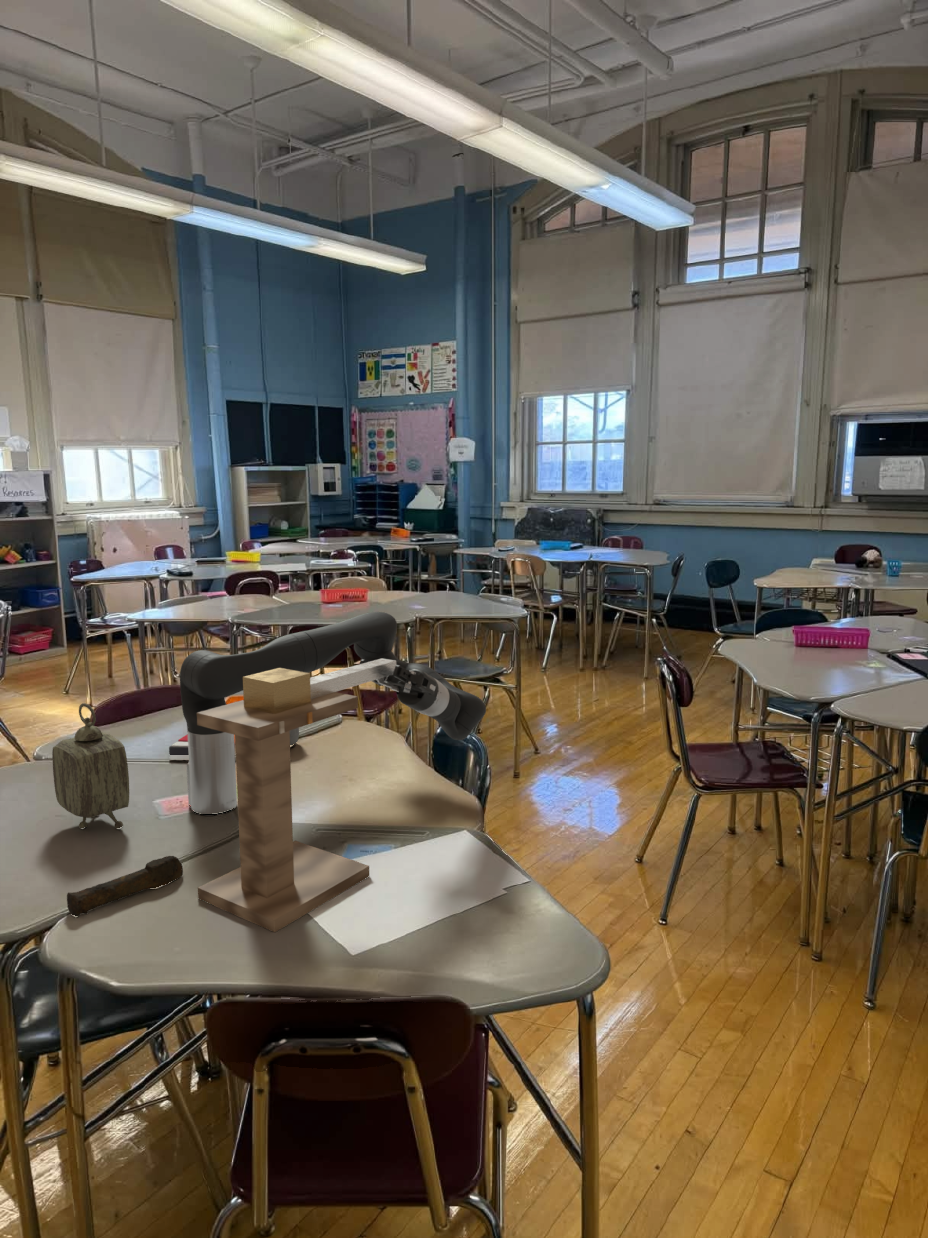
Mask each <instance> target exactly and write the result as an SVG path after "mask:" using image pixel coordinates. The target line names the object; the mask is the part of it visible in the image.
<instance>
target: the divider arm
mask: <svg viewBox="0 0 928 1238" xmlns="http://www.w3.org/2000/svg"><path fill="white" fill-rule="evenodd" d="M395 666H396V661H395V660H389V659H383V658H382V659H378V660H374V661H370V662H367V663H363V664H360V663H358V664H356V665H352V666H349V667H345V668H342V669H338V670H333V671H330V672H326V673H323V674H319V675H315V676H311V672H309V673H305V672H300V671H295V670H289V669H284V668H277V669H273V670H269V671H265V672H261V673H257V674H253V675H248V676H244V677H243V691H242V692H243V696H242V697H243V700H244V707H245V708H250V709H254V710H258V711H263V712H267V713H271V714H277V713H280V712H283V711H287V710H290V709H293V708H296V707H300V706H303V705H306V704H310V703H311V699H313V698H316V697H320V696H323V695H326V694H330V693H333V692H337V693H338V692H339V691H343V690H346V689H350V688H352V687H356V686H359V685H362V684H366V683H369V682H372V681H373V680H377V679H380V678H383V677H388V676H390V675H393V672H394V669H395Z"/></svg>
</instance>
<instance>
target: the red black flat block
mask: <svg viewBox="0 0 928 1238" xmlns="http://www.w3.org/2000/svg"><path fill="white" fill-rule="evenodd" d="M168 752H169V753H168V754H170V755H189V751H188V733H187V734H185V735H184V736H182V737H181V738H180V739H178V740H177V741H176V742H174V743H173V744H172V745H170V746H169V747H168Z"/></svg>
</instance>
